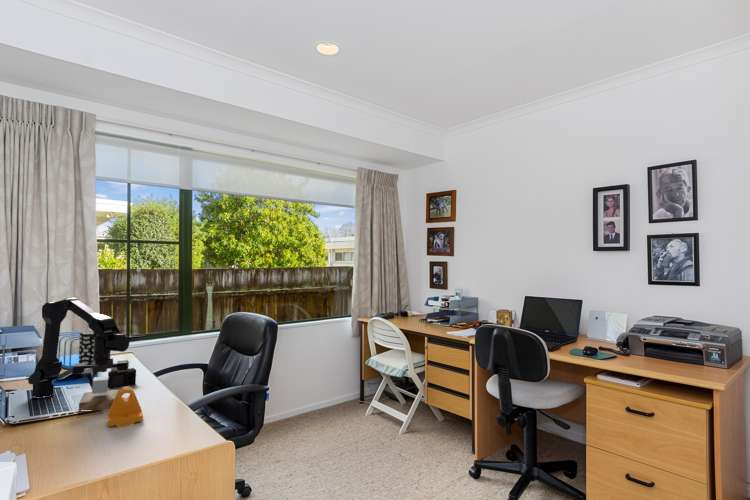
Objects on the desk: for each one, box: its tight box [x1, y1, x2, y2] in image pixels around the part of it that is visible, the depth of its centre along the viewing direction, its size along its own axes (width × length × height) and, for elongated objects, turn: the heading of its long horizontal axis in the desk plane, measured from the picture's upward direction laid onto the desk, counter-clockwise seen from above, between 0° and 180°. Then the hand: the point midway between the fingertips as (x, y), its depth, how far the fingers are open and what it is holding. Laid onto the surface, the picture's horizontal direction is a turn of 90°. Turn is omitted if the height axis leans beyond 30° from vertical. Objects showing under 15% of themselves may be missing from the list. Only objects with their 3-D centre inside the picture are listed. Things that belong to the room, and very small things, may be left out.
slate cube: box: [91, 375, 109, 394], centre depth 169 cm, size 5×5×5 cm
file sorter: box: [57, 330, 82, 370], centre depth 229 cm, size 25×17×15 cm
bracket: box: [106, 386, 144, 428], centre depth 154 cm, size 11×7×12 cm, turn 124°
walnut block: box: [78, 388, 121, 412], centre depth 169 cm, size 13×13×4 cm
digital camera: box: [107, 367, 137, 390], centre depth 193 cm, size 10×5×7 cm, turn 136°
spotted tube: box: [78, 330, 99, 375], centre depth 211 cm, size 8×8×20 cm
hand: (100, 388), depth 169 cm, fingers closed on slate cube, 5 cm apart
